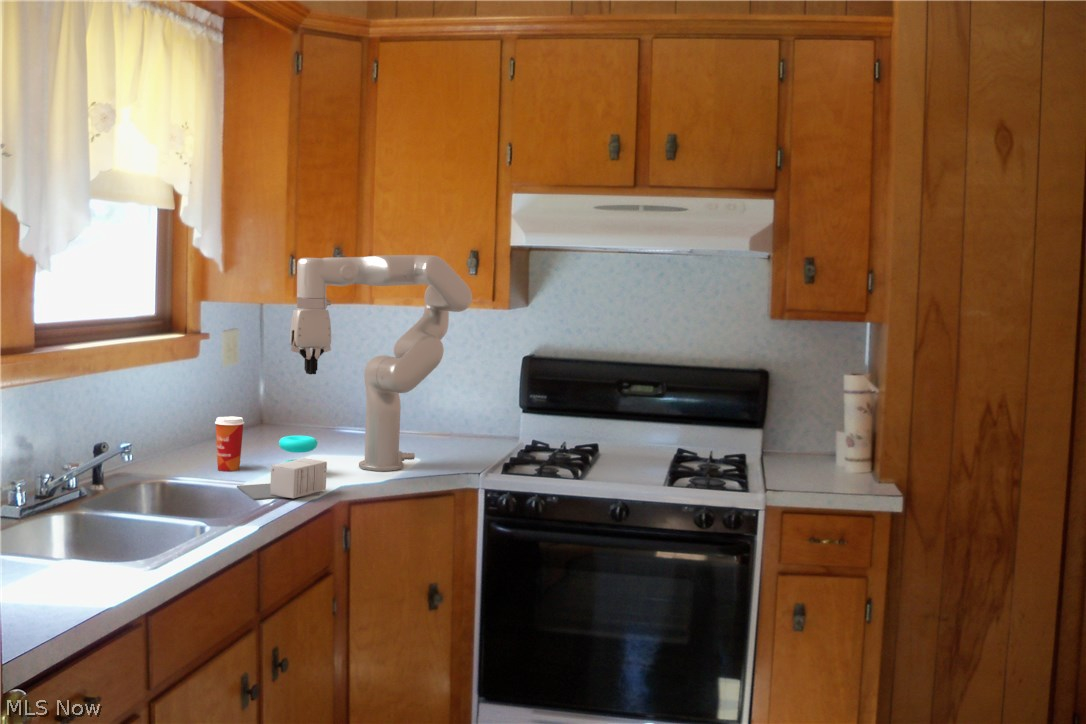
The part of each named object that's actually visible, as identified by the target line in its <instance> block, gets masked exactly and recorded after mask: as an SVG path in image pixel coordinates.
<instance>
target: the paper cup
mask: <svg viewBox="0 0 1086 724" xmlns="http://www.w3.org/2000/svg"><path fill="white" fill-rule="evenodd" d="M214 424H215V436H216V459H217V470H218V471H219V470H220V472H237V471H239V470H240V466H241V458H242V457H241V455H242V445H243V444H242V443H243V433H244V431H243V430H244V424H245V421H244V418H243V417H242V416H241V417H240V416H233V415H231V416H218V417H216V419H215V422H214Z"/></svg>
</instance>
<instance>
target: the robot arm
mask: <svg viewBox="0 0 1086 724" xmlns="http://www.w3.org/2000/svg"><path fill="white" fill-rule="evenodd" d="M296 264H297V265H296V266H297V267H296V270H297V271H296V272H297V273H296V309H293V311H292V316H291V322H290V330H289V331H290V333H289V344H290V346H291V349H290V351H291V352H293V353H297V354H299V355H301V356H302V358H303V359H304V371H305V374H308V375H317V371H318V366H319V365H318V361H319V359H320V357H321V356H322V355H323V354H324V353H327V352H330V351H331V350H332V348H331V344H332V327H331V318H330V313H329V310H328V306H331V304H332V302H331V300H328V298H327V286H334V287H345V286H351V285H363V286H373V287H374V286H375V287H387V286H388V287H391V286H392V287H393V286H395V287H396V286H415V285H416V286H421V285H422V286H427V288H426V289H425V292H424V297H423V298H424V299H423V301H424V311H423V314H422V316H421V317H420V319H419V320H418V321H416V323H415V324H413V325H412V327H410V328H409V329H408V330H406V332H405V333H403V334H402V335H401V336H400V337H399V338H398V340H397V341H396V342H395V344H394V346H393V355H394V356H389V355H377V356H374V357H372V358H371V359H370V360H369V361H368V362H367V363H366V366H365V368H364V373H363V377H364V385H365V392H366V395H365V396H366V409H365V410H366V411H365V412H366V414H365V433H364V434H365V435H364V436H365V437H364V438H365V439H364V441H365V442H364V460H361V461H359V462H358V467H359V468H360V469H363V470H367V471H375V472H391V471H392V470H393V471H399V470H402V469H403V468H404V467H405V464H404V461H407V460H408V461H410V460H415V459H416V455H415V452H408V453H407V452H403V451H401V450H400V430H401V428H400V427H401V406H402V405H401V399H400V394H406V393H408V392H410V391H413V390H414V389H415V388H416V387H417V386H418V385H420V384H421V382H423V380H425V379H426V378H427V377H428V376H429V375H430V374H431V373H432V372H433V371H434V370H435V369H436V368H437V367H438V366H439V364H440V363H441V361H442V359H443V357H444V349H445V348H444V345H443V342H442V339H443V338H444V337H445V335H446V334H447V332H448V331H449V330H448V329H449V322H450V321H449V319H450V318H449V316H450V312H453V313H460V312H464V311H466V310H467V309H468V308H470V306H471V304H472V301H473V294H472V290H471V288H470V287H469V285H468V284H467V283H466V282H465V280H463V278H462V277H461V276H460V275H459V274H458V273H457V272H456V270H454V269H453V267H451V265H449V264H448V263H447V262H446V261H445V260H444V259H443V258H441V256H437V255H432V254H431V255H427V254H423V255H422V254H396V255H395V254H393V255H392V254H390V255H389V254H388V255H387V254H386V255H383V254H382V255H381V254H380V255H368V256H367V255H366V256H354V257H353V256H347V257H345V256H344V257H341V256H340V257H339V256H338V257H330V256H329V257H323V258H319V257H301V258H299V259H298V260H297V263H296ZM401 468H402V469H401ZM398 469H399V470H398ZM393 471H392V472H393Z"/></svg>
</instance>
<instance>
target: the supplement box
mask: <svg viewBox="0 0 1086 724" xmlns="http://www.w3.org/2000/svg"><path fill="white" fill-rule="evenodd" d="M293 460H294V461H289V462H285V461H284V462H285V463H283V462H280V463H276V464H272V465H271V467H270V483H271V485H270V494H271V495H276V496H281V497H287V498H289V499H296V498H301V497H306V496H305V495H308V494H312V493H316V492H318V493H320V492H322V491H326V488H327V472H328V471H327V469H328V466H327V465H328V463H327V461H326V460H320V459H313V458H305V457H303V458H299V459H293Z"/></svg>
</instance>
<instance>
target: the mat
mask: <svg viewBox="0 0 1086 724" xmlns="http://www.w3.org/2000/svg"><path fill="white" fill-rule="evenodd" d="M270 485H271V482H270V483H257V484H245V485H244V484H243V485H237V486H236V489H238V490H240V491H241V492H242V493H244V494H245V495H246V496H248V497H249V498H251V499H252V500H253V501H260V500H272V499H274V500H275V499H286V498H287V497H281V496H276V495H271V494H270ZM308 496H309V497H313V496H320V492H316V493H312V494H308V495H305V496H304V497H308Z"/></svg>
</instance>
